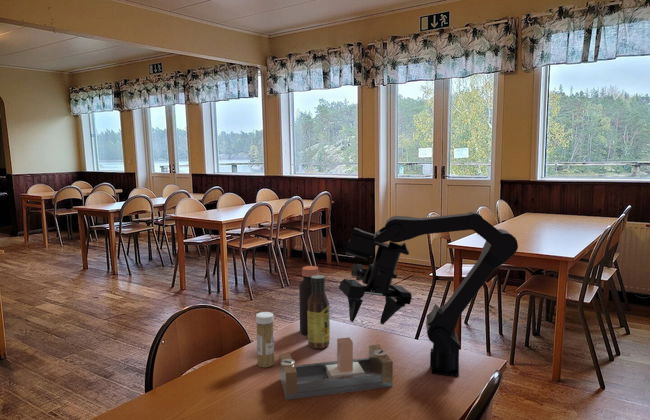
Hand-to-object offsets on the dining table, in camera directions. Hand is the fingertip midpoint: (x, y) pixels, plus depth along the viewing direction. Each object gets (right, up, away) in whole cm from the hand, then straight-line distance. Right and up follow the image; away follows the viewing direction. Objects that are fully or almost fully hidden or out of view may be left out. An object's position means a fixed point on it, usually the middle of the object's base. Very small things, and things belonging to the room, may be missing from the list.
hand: (366, 322), depth 122 cm
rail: (-8, -13, -8) cm, 17 cm away
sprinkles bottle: (-26, -12, +2) cm, 28 cm away
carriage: (-6, -11, -8) cm, 14 cm away
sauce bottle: (-12, -10, +14) cm, 21 cm away
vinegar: (-15, -9, +24) cm, 30 cm away
